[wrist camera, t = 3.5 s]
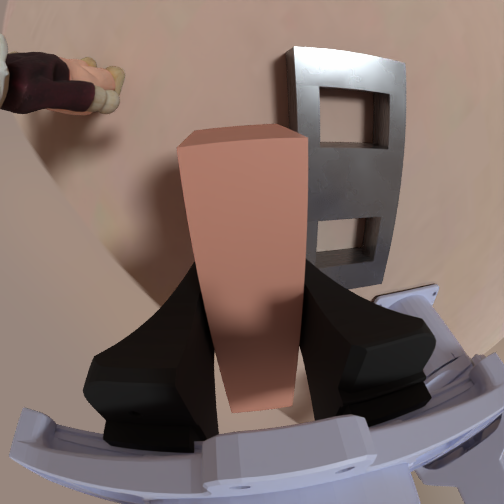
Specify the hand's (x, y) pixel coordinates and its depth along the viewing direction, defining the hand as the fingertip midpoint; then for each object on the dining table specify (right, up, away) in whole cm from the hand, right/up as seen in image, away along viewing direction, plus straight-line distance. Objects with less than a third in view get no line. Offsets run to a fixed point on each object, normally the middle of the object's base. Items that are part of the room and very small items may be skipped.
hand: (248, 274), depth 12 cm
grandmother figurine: (-9, +11, +1) cm, 14 cm away
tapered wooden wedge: (0, +2, +3) cm, 3 cm away
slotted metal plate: (+6, +6, +5) cm, 10 cm away
